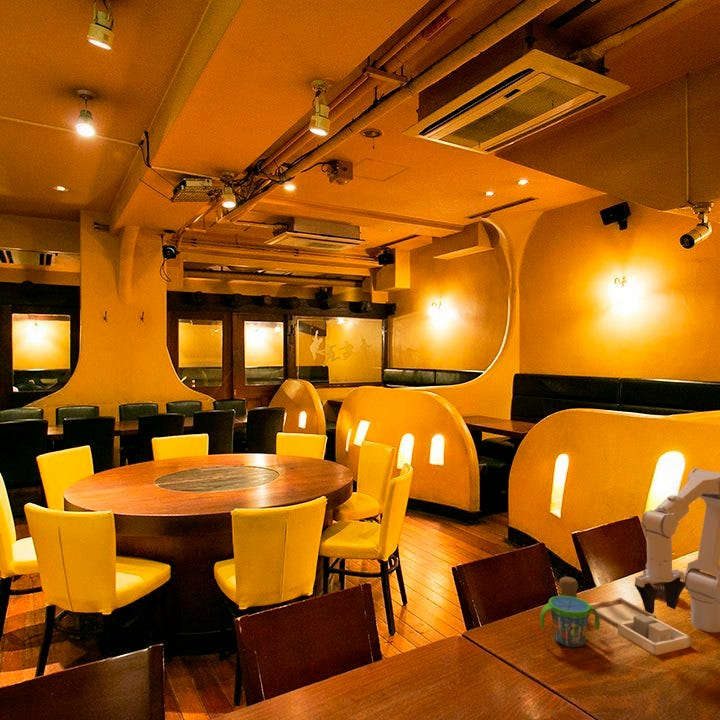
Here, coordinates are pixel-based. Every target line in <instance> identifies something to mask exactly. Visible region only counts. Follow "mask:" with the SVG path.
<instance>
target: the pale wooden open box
mask: <svg viewBox="0 0 720 720" xmlns="http://www.w3.org/2000/svg"><path fill="white" fill-rule="evenodd" d="M649 618H651V619H653V620H655V623H658V622H659V623H661V624H663V625H665V626H666V627H668V628H670V630H671V639H670V640H666V641H662V642H657V643H654V642H652V641H650V640H649V638H645V637H643V636H642V635H640V634H638V633H636V632H635V631H634V621H633V620H632V621H628V622H623V623H618V628H617V634H619V635H621V636H622V637H624V638H626V639H627V640H629V641H631V642H632V643H634V644H635V645H637V646H639V647H640V648H642V649H644V650H645V651H647V652H649V653H650V654H652V655H653V656H659V655H663V654H666V653H670V652H675V651H679V650H683V649H686V648H687V649H688V648H690V647H692V646H691V645H692V642H691V636H690V635H688V634H686V633H684V632H682V631H680V630H679V629H676V628H674V627H672V626H671V625H670V624H667V623H665V622H664V621H661V620H659V619H657V618H656V619H655V618H654V617H652V616H651V617H649Z"/></svg>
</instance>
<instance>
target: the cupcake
mask: <svg viewBox="0 0 720 720" xmlns="http://www.w3.org/2000/svg"><path fill="white" fill-rule="evenodd" d="M646 569H647V563H645V568H644V570H643V572H642V574H644V573H645V570H646ZM651 586H652V587H653V588H654V589H656V590H658V592H657V594H656V597H655V598H658V599H661V600H663V601H665V602H666V593H665V588H664V584H663V582H660V583H655V584H651Z"/></svg>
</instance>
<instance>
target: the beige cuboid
mask: <svg viewBox="0 0 720 720" xmlns="http://www.w3.org/2000/svg"><path fill="white" fill-rule="evenodd" d="M648 634H649V638H648V639H649V640H650V641H652V642H654V643H657V642H662V641H666V640H670V639H672V638H671V630H670V628H668V627H666V626H665V625H663V624H661V623H659V622H658V623H654V624H649V625H648Z"/></svg>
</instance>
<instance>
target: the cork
mask: <svg viewBox="0 0 720 720" xmlns="http://www.w3.org/2000/svg"><path fill="white" fill-rule="evenodd" d="M558 582H559V583H558V584H559V587H560V596H571V597H576V598H578V596H577V590H578V588H579V584H578V581H577V580H576V579H575V578H573V577H572V576H571V577H570V576H563V577H560V579H559V581H558Z"/></svg>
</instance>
